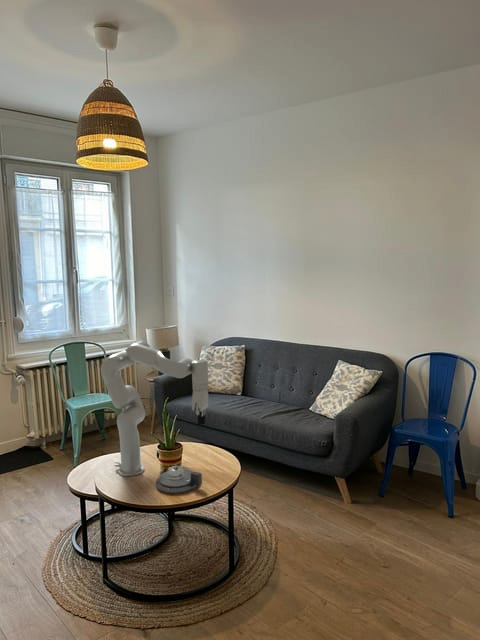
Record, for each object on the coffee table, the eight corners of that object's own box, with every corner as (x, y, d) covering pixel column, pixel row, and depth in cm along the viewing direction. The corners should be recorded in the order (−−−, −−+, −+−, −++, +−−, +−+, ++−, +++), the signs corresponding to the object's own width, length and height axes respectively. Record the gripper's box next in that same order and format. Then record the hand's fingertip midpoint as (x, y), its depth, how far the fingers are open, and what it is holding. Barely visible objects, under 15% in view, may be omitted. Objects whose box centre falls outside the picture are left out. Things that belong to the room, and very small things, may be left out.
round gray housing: (153, 477, 225) (153, 467, 225) (186, 468, 234) (186, 459, 233) (170, 494, 208) (169, 483, 207) (205, 484, 216) (204, 473, 216)
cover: (165, 475, 223) (164, 467, 223) (180, 472, 227) (180, 463, 226) (170, 482, 216) (170, 473, 216) (186, 478, 220) (186, 469, 219)
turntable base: (148, 491, 216) (148, 486, 216) (167, 473, 235) (167, 468, 235) (189, 496, 210) (188, 491, 210) (205, 477, 229) (205, 472, 229)
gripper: (199, 382, 233) (200, 418, 235) (186, 389, 219) (188, 428, 221) (213, 382, 231) (214, 419, 233) (201, 390, 217) (203, 429, 219)
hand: (201, 423), depth 227 cm, fingers closed
